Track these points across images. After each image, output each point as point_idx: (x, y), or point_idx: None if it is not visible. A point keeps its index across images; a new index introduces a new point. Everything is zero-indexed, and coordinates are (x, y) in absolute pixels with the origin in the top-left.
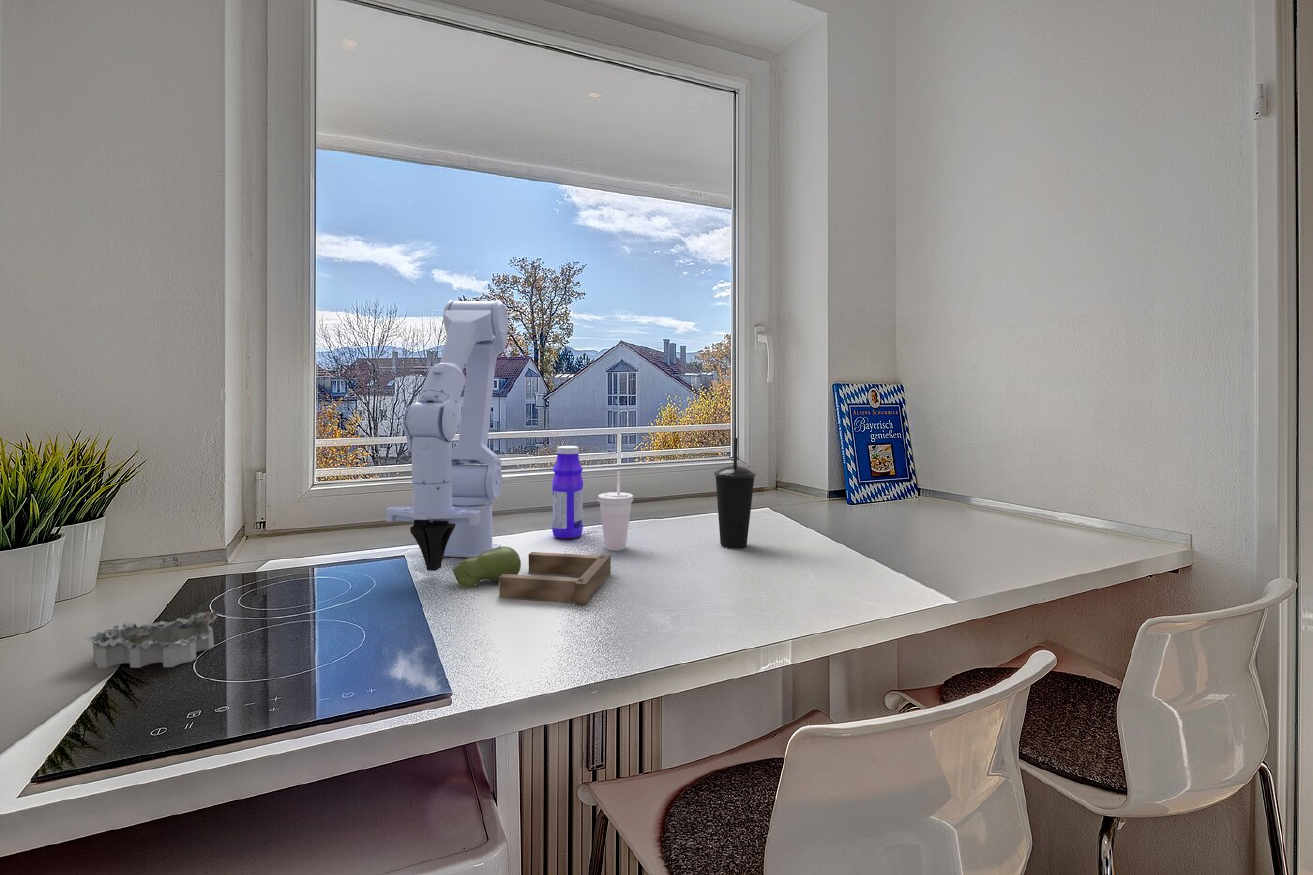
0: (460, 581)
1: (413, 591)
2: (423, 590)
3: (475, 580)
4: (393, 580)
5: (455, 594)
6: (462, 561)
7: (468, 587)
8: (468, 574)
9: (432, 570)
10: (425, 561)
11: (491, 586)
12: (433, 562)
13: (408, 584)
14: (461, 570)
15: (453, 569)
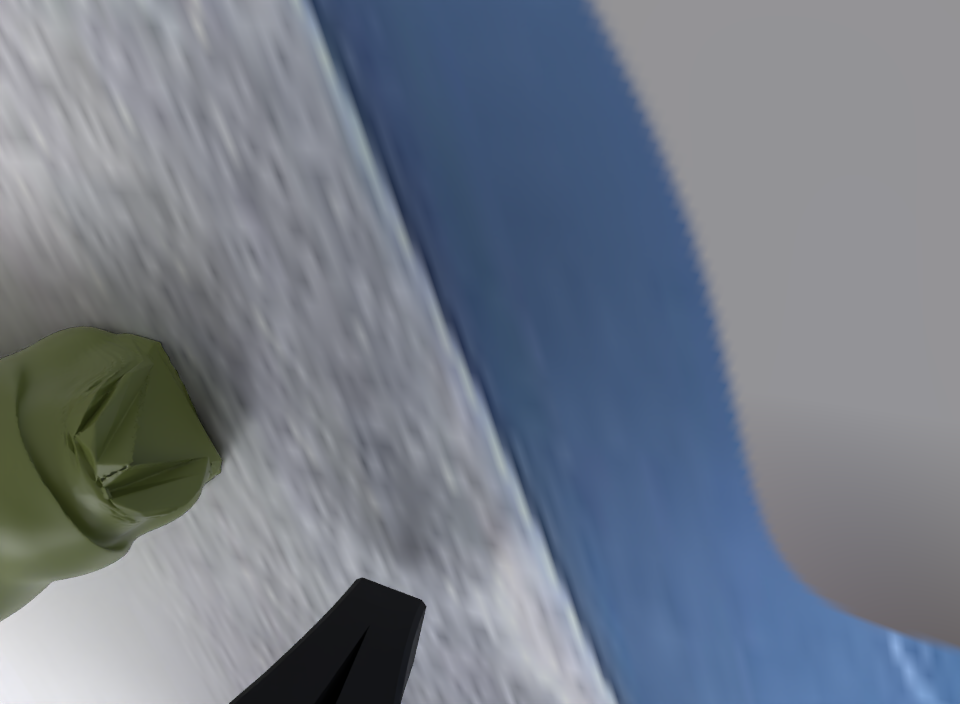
0: (119, 359)
1: (462, 292)
2: (390, 310)
3: (21, 350)
4: (708, 584)
5: (120, 188)
6: (26, 525)
7: (108, 332)
8: (8, 370)
9: (376, 584)
10: (395, 662)
11: (4, 345)
12: (322, 628)
13: (558, 472)
14: (39, 413)
15: (118, 457)
